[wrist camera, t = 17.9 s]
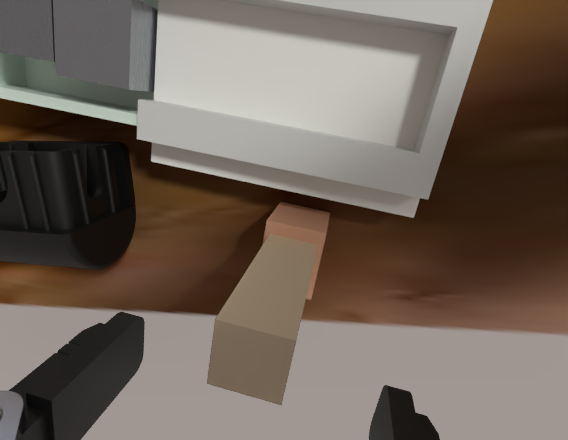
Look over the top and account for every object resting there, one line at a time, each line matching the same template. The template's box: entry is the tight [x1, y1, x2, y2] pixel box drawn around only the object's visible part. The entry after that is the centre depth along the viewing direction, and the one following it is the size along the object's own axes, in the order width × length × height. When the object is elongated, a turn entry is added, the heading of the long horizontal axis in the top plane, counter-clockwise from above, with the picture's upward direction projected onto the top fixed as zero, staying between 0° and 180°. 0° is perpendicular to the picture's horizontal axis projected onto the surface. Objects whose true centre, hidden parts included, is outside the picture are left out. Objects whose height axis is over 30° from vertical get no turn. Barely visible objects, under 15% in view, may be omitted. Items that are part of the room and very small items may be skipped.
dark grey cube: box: [0, 0, 55, 62], centre depth 18 cm, size 4×4×4 cm
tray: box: [0, 0, 158, 126], centre depth 19 cm, size 10×8×4 cm
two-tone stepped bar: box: [207, 202, 330, 405], centre depth 17 cm, size 3×4×12 cm
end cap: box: [0, 141, 136, 269], centre depth 21 cm, size 10×7×7 cm
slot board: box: [137, 0, 493, 218], centre depth 17 cm, size 15×12×4 cm
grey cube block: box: [53, 0, 158, 92], centre depth 18 cm, size 4×4×4 cm
